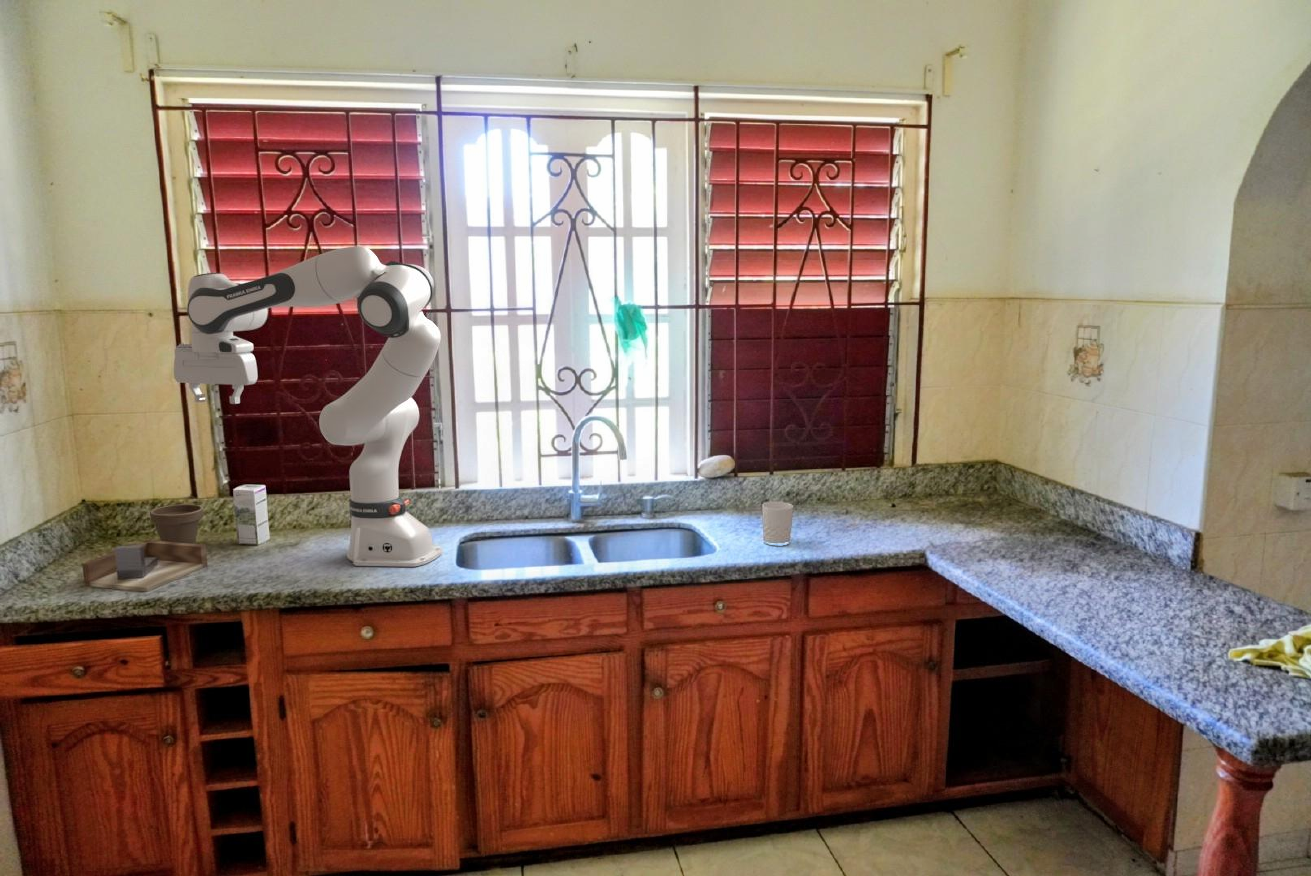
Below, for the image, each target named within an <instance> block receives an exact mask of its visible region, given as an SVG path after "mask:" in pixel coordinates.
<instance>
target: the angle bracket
mask: <svg viewBox="0 0 1311 876" xmlns="http://www.w3.org/2000/svg"><path fill="white" fill-rule="evenodd" d="M114 552H115V557H116V567H117V576H118V580H120V579H139V578H144V577H145V576H146V575H147V574H148V573H150V572H151V571H152V570H153V569H154V568H155V567H157V566H158V562H157V557H147V558H145V557H144V547H143V545H135V544H133V545H118V546H116V547H115V548H114Z"/></svg>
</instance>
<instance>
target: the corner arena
mask: <svg viewBox="0 0 1311 876" xmlns="http://www.w3.org/2000/svg"><path fill="white" fill-rule="evenodd" d="M134 545H143V547H144V557H145V558H147V557H157V562H158V566H157V567H155V568H154V569H153V570H152V571H151V572H150V573H148V574H147V575H146V576H145V577H144V578H139V579H120V580H118V576H117V567H116V557H115V551H113V552H111V553H107V554H105V555H102V556H99V557H97V558H94V559H91V560H88V561H85V562H83V563H82V565H81V566H82V574H83V576H82V577H83V584H84V585H83V586H84V587H92V588H93V587H94V588H104V589H113V590H115V589H116V590H126V591H136V592H146V593H148V592H150V591H152V590H155V589H157V588H159V587H162V586H164V585H166V584H168V583H171V582H173V581H175V580H177V579H180V578H182V577H185V576H187V575H190V574H191V573H193V572H196V571H198V570H201V569H203V568H205V567H208V556H207V546H206V544H199V543H195V544H188V543H176V542H164V541H161V540H152V539H151V540H149V539H147V540H144V541H141V542H138V543H136V544H134Z"/></svg>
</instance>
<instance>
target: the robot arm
mask: <svg viewBox="0 0 1311 876" xmlns="http://www.w3.org/2000/svg"><path fill="white" fill-rule="evenodd" d="M187 287H188V288H187V307H186V311H187V316H188V318H189V320H190V322H191V325H190V329H189V330H190V342H191V343H184V342H182V343H181V342H180V343H179V344H178V345H176V346H175V348H174V361H173V377H174V378H173V379H175V381H176V382H177V383H179V384H180V383H182V384H183V383H185V384H188V389H190V391H191V392H192V394H193V395H194V402H195V403H205V402H206V394H204V393H202V391H201V389H200V388H201V384H203V385H204V384H207V385H212V384H214V385H231V389H233V390H234V391H233V393H232V395H230V396H229V398H228V399H229V403H230V405H231V404H232V405H236V404H240V403H241V395H242V394H243V393H242V392H243V391H244V386H249V385H254V384H256V382H257V380H258V377H259V376H258V366H257V360H256V357H255V355H254V354H253V351H254V343H252V342H250V341H248V340H246V339H244V338H241V337H238V336H236V335H234V332H243V331H244V332H245V331H253V330H257V329H259V328H262V327H263V326H264V325H265V324H266V322H267V320H268V316H269V310H270V308H280V307H282V308H285V307H290V308H291V307H293V308H294V307H297V308H300V307H301V308H315V307H316V308H317V307H328V306H333V305H337V304H340V303H343V302H344V303H345V302H346V301H349V300H352V299H355V298H358V299H357V302H356V307H357V312H358V315H359V316H360V318H361V320H363V322H364V323H365V324H366V325H367V326H368V327H370V328H371V329H372V330H374V331H375V332H377V333H379V334H380V335H381V336H382V337H384V338H387V340H386V341H385V344H384V345H383V347H382V348H381V351H380V352H379V354H377V355H378V356H377V357H376V359H375V360H374V362H373V364H372V366H371V367H370V369H369V370H368V372H367V373H366V374H365V375H364V376H363V377H362V378H361V379H360V380H359V381H358V382H356V384H355V385H353V386H352V387H351V388H350V389H349V390H348V391H347V392H345V394H343V395H342V396H340V397H339V398H337V399H335V400H334V401H332V402H330V403H329V404H326V405H325V406H324V407H323V409H322V410H321V412H320V413H319V419H318V423H319V429H320V433H321V434H322V436H323V437H324V438H325V440H326V441H327V442H328V443H330V444H331V445H336V446H356V445H357V446H358V445H363V444H364V445H363V448H362V451H361V452H360V454H359V455H358V457H357V458H356V459H355V460H354V461H353V462H352V463H351V465H350V467H349V473H348V475H349V488H350V498H349V501H348V506H349V507H348V509H349V516H350V520H351V522H350V524H351V525H350V526H351V527H350V538H349V545H348V549H347V553H346V558H347V559H348V560H350V561H351V562H352V564H353V566H358V567H411V568H412V567H413V568H414V567H420V566H423V565H425V564H428V563H431V562H432V561H434V560H436V559H438V557H440V556H441V555H442V554H443V548H442V546H440V545H435V544H434V543H433V537H432V534H431V533H432V532H431V530H430V528H429V527H427V526H426V525H425V524H423V523H422V522H421V521H419V520H418V519H417V518H416V517H414V516H413V515H411V513H409V512H408V511H407V509H406V506H408V505H409V504H410V500H409V499H407V500H403V499H402V497H401V495H400V494H399V493H400V492H399V464H400V460H401V456H402V451H403V450H404V446H405V443H406V441H407V440H408V437H409V436H410V435H411V434H412V433H413V431H414V430H415V429H416V428H417V427H418V425H419V421H420V411H419V406H418V404H417V403H416V401H415V400H414V399H413V396H414V395H415V394H416V391H417V390H418V388H419V387H420V386H421V385H420V384H422V382H423V380H424V378H425V376H426V375H427V374H428V371H429V369H430V368H431V366H432V365H433V362H434V360H435V358H436V355H437V352H438V351H439V347H440V344H441V340H442V339H441V338H442V336H441V331H440V329H439V328H438V326H437V325H436V324H435V323H434V322H433V321H431V320H430V319H428V318H427V317H426V316H425V315H424V312H423V311H422V310H423V309H425V308H426V307H427V306H428V305H429V304H430V303H431V301H432V299H433V296H434V295H435V288H436V287H435V280H434V279H433V277H432V275H431V274H430V272H429V271H428V270H427V269H425V268H424V267H423V266H420V265H417V264H413V263H406V262H405V263H403V262H398V261H395V260H390V261H389V262H386V263H385V264H383V263H381V262H380V260H379V258H378V257H377V255H376V254H375V253H374V251H372V250H371V249H369V248H367V247H366V246H360V245H356V246H355V245H353V246H347V247H341V248H337V249H333V250H329V251H326V252H324V253H323V252H322V253H320V254H317V255H316V256H313V257H310V258H308V259H305V260H303V261H301V262H298V263H296V264H294V265H291V266H290V267H289V266H288V267H286V268H284V269H282V270H279V271H277V272H275V273H272V274H270V275H267V276H265V277H260V278H258V279H257V278H256V279H254V280H250V281H248V282H245V283H241V284H238V283H236V282H234V281H232V280H230V279H229V278H228V276H227V275H226V274H223V273H221V272H209V273H201V274H195V275H194V276H192V277H191V278H190V279H189V282H188V286H187Z"/></svg>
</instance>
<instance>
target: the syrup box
mask: <svg viewBox="0 0 1311 876" xmlns="http://www.w3.org/2000/svg"><path fill="white" fill-rule="evenodd" d="M266 487H267V486H266V485H265V484H242V485H239V486H237V487H235V488H233V489H232V490H233V491H232V493H233V504H234V516H235V517H234V518H235V526H236V529H235V530H236V537H237V538H236V539H237V541H236V542H237V545H251V546H253V545H255V546H258V545H261V544H264V543H265V542H267V541H269V540H270V526H269V517H268V516H269V515H268V501H267V489H266Z"/></svg>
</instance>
